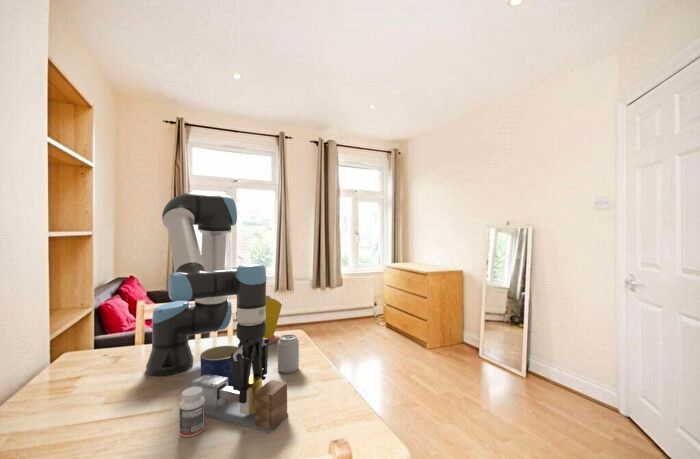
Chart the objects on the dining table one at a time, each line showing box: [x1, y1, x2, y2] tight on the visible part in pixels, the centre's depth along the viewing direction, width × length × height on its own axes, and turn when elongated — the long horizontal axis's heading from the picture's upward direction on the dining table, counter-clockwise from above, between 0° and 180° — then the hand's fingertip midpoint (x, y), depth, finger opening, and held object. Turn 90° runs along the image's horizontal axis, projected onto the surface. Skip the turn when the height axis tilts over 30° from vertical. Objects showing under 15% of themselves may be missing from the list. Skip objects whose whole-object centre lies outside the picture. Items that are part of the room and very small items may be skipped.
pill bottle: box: [179, 386, 206, 438], centre depth 79 cm, size 6×6×10 cm
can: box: [277, 333, 300, 374], centre depth 114 cm, size 8×8×12 cm
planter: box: [199, 345, 238, 387], centre depth 102 cm, size 12×12×11 cm
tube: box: [217, 374, 263, 415], centre depth 86 cm, size 22×4×8 cm, turn 70°
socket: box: [255, 379, 288, 432], centre depth 83 cm, size 5×7×9 cm
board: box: [205, 400, 289, 434], centre depth 87 cm, size 27×8×1 cm, turn 70°
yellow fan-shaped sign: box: [235, 295, 283, 347], centre depth 141 cm, size 22×9×22 cm, turn 145°
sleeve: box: [191, 374, 228, 412], centre depth 90 cm, size 8×5×8 cm
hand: (250, 408), depth 85 cm, fingers closed on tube, 4 cm apart
